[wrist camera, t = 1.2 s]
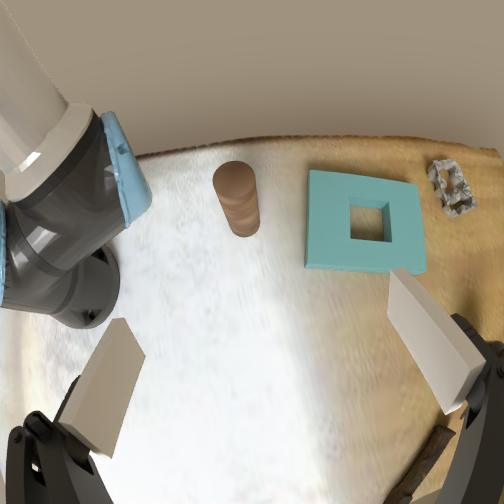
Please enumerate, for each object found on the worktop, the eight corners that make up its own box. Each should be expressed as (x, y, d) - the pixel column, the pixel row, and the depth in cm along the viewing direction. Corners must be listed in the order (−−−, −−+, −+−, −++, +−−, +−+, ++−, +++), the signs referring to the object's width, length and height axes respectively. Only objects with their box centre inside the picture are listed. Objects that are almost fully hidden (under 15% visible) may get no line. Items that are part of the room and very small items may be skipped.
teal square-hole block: (304, 267, 38) (307, 263, 35) (307, 179, 41) (309, 169, 38) (416, 275, 36) (426, 271, 33) (409, 192, 40) (417, 184, 37)
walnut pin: (228, 236, 40) (209, 196, 27) (231, 208, 41) (216, 160, 28) (258, 238, 39) (252, 198, 27) (261, 210, 40) (256, 161, 28)
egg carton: (421, 168, 41) (430, 156, 37) (447, 165, 41) (456, 154, 37) (444, 221, 38) (456, 212, 34) (469, 214, 38) (481, 206, 34)
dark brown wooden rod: (434, 421, 30) (448, 429, 25) (447, 427, 29) (462, 434, 25) (368, 507, 26) (376, 520, 22) (384, 510, 26) (392, 522, 21)
